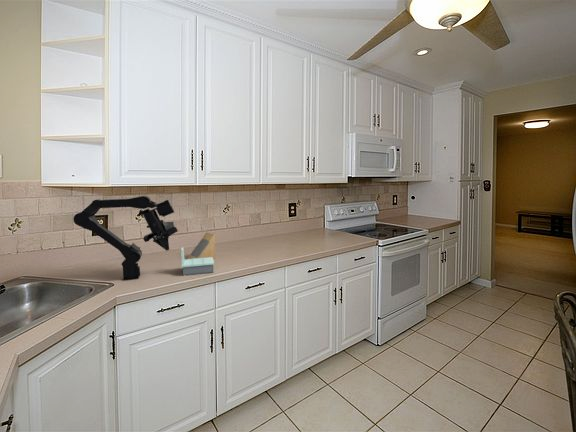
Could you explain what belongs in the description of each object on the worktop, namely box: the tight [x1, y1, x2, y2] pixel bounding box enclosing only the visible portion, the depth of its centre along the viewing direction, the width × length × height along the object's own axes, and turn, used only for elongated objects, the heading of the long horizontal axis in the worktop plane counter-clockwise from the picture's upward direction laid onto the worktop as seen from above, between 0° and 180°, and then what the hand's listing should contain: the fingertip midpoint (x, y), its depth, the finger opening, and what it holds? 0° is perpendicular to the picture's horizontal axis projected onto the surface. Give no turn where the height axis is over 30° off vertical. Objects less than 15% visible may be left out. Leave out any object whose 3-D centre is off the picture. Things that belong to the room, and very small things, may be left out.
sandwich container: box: [186, 231, 216, 261], centre depth 164 cm, size 9×15×15 cm, turn 138°
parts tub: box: [182, 265, 214, 276], centre depth 147 cm, size 14×10×4 cm
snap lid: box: [180, 246, 215, 268], centre depth 146 cm, size 15×11×8 cm
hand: (168, 250), depth 142 cm, fingers closed
